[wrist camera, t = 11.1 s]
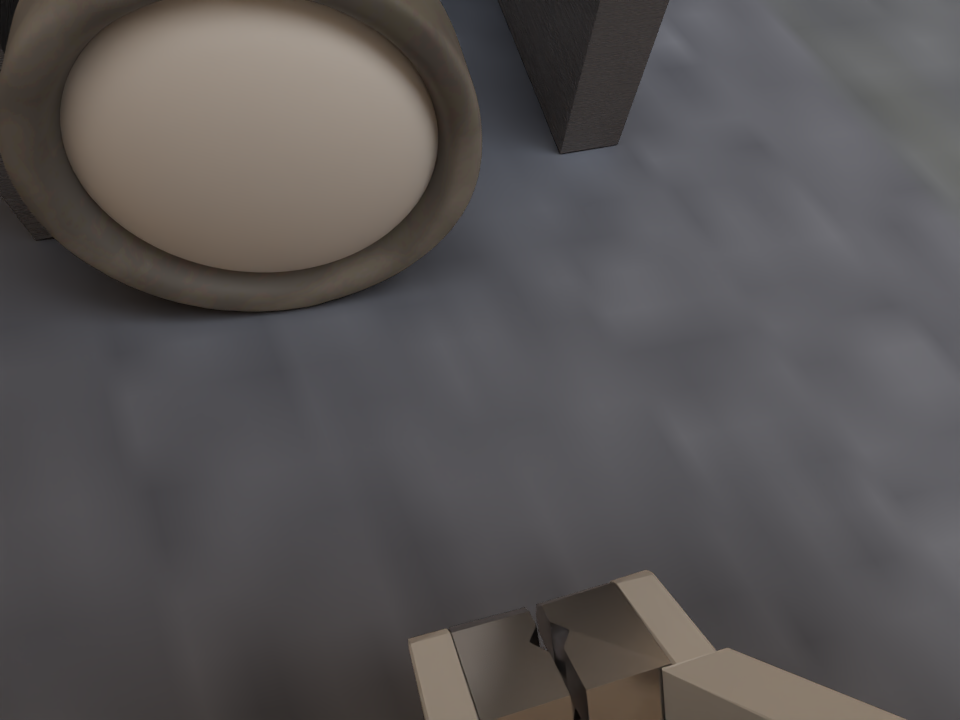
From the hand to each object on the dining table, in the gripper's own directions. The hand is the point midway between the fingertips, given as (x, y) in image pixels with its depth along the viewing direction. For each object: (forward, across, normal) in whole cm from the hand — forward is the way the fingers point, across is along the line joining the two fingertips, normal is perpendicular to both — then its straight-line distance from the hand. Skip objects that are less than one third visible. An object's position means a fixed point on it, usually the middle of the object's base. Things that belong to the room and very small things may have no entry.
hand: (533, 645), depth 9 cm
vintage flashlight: (+14, +2, -6) cm, 15 cm away
